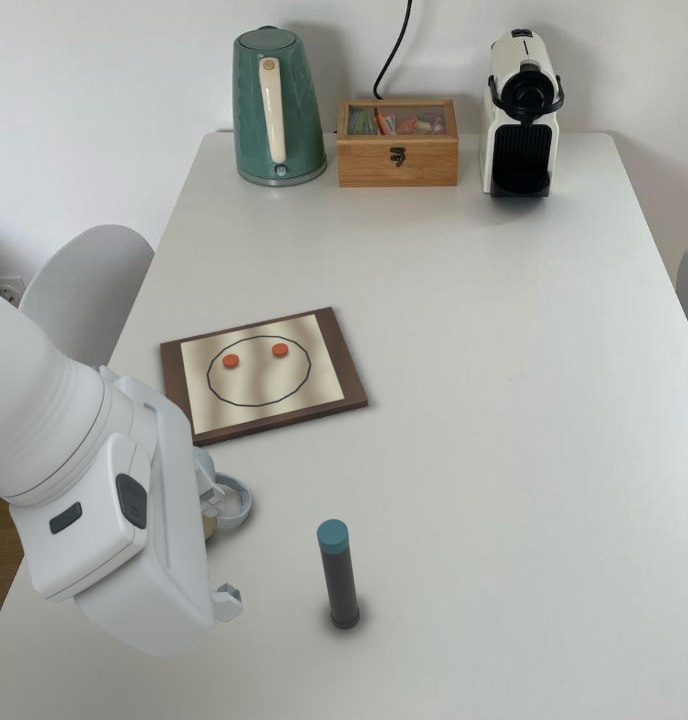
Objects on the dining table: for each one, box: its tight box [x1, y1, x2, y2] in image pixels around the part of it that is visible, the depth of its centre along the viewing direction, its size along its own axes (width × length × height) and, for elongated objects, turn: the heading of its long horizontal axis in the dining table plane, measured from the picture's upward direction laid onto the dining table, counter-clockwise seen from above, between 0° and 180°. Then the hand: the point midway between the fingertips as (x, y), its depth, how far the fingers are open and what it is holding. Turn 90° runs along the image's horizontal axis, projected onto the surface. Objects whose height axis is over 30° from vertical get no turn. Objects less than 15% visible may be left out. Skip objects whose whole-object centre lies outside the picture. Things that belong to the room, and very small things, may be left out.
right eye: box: [272, 343, 288, 356], centre depth 98 cm, size 2×2×1 cm
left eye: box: [222, 354, 239, 367], centre depth 97 cm, size 2×2×1 cm
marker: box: [316, 518, 361, 630], centre depth 69 cm, size 3×3×13 cm
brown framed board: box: [159, 306, 369, 448], centre depth 97 cm, size 22×18×1 cm
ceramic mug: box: [193, 446, 253, 541], centre depth 80 cm, size 11×8×8 cm
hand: (226, 554), depth 58 cm, fingers open, 8 cm apart
